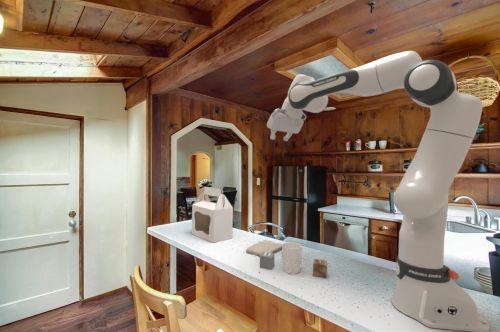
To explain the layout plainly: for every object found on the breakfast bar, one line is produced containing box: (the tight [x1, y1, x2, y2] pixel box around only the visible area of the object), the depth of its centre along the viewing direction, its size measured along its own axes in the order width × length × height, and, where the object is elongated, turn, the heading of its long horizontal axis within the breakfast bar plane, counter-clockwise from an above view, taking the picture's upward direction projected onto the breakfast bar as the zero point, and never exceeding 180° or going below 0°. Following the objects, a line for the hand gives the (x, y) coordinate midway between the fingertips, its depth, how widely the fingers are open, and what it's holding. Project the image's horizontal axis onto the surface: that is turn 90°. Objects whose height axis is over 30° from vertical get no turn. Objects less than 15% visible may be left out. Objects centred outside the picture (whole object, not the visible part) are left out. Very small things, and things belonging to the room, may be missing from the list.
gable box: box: [191, 186, 234, 244], centre depth 141 cm, size 22×13×28 cm, turn 44°
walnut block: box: [312, 258, 328, 279], centre depth 95 cm, size 5×5×5 cm
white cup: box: [281, 241, 303, 275], centre depth 98 cm, size 8×8×10 cm
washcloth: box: [245, 239, 283, 257], centre depth 120 cm, size 12×18×3 cm, turn 145°
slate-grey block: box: [259, 252, 276, 271], centre depth 101 cm, size 5×5×5 cm
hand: (278, 139), depth 113 cm, fingers open, 8 cm apart
